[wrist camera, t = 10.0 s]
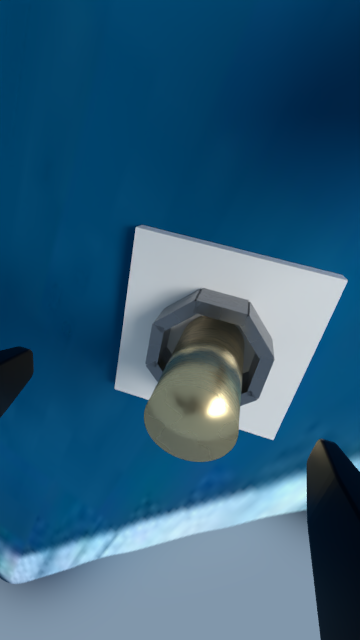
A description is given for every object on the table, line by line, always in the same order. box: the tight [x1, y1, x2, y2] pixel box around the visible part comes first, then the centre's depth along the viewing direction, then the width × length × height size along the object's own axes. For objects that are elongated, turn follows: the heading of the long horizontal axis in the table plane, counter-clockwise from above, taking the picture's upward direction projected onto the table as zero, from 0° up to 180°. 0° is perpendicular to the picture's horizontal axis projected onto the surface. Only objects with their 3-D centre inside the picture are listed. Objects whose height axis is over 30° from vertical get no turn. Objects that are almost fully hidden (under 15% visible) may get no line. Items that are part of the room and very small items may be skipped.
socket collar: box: [145, 288, 275, 406], centre depth 20 cm, size 8×8×2 cm
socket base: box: [115, 225, 348, 440], centre depth 22 cm, size 13×13×1 cm
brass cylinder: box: [144, 316, 245, 462], centre depth 18 cm, size 4×4×8 cm
